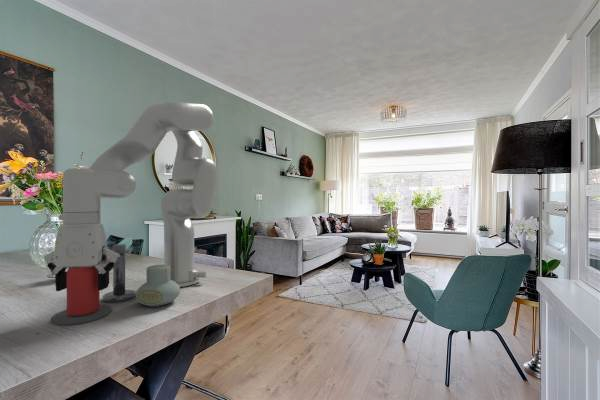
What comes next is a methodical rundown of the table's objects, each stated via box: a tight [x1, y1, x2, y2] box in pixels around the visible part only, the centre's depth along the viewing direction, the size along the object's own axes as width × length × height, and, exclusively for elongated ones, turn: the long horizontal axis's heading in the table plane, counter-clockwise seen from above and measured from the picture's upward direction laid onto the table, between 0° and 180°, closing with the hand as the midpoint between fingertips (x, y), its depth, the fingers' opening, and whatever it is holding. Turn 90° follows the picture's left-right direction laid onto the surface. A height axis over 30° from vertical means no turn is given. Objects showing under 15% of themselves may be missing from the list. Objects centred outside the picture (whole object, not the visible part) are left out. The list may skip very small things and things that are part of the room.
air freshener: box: [135, 264, 181, 308], centre depth 84 cm, size 11×8×10 cm
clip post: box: [102, 253, 136, 304], centre depth 88 cm, size 8×8×13 cm
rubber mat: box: [50, 303, 113, 326], centre depth 75 cm, size 12×12×1 cm
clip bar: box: [112, 237, 133, 255], centre depth 96 cm, size 22×3×2 cm, turn 22°
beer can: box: [66, 266, 100, 317], centre depth 75 cm, size 7×7×12 cm
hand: (82, 289), depth 75 cm, fingers open, 9 cm apart
